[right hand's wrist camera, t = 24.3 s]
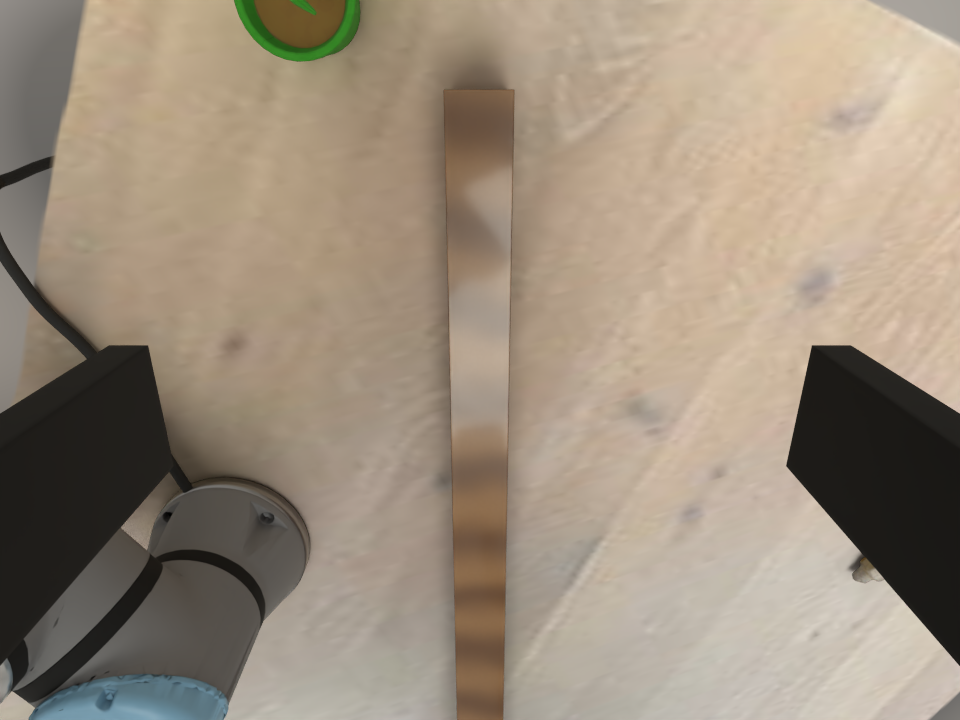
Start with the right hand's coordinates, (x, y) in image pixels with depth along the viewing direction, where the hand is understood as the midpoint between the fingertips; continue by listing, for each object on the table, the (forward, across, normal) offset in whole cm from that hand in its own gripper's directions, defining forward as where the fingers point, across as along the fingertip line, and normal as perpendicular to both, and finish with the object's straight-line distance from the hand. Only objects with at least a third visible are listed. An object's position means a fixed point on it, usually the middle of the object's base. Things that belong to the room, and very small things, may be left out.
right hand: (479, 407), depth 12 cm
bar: (+41, 0, -29) cm, 50 cm away
